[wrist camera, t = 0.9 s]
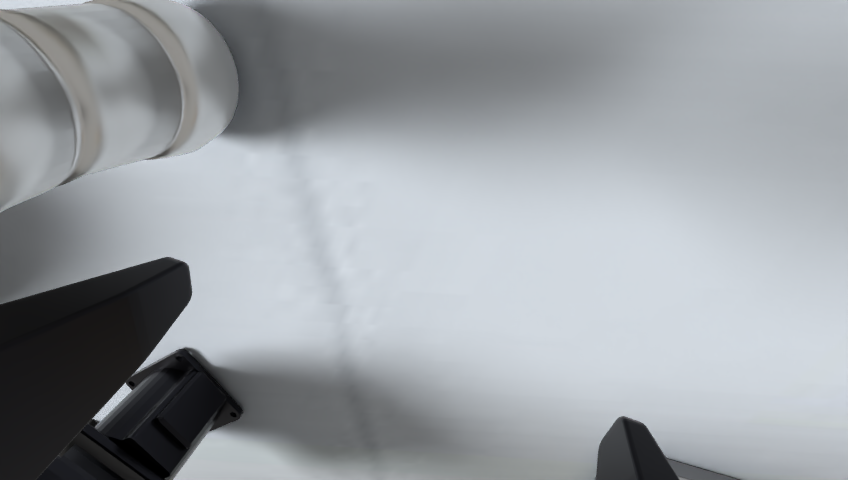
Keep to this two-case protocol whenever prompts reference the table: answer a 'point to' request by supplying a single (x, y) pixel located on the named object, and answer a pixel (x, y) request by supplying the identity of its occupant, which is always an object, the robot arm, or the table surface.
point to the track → (695, 472)
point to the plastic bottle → (106, 89)
